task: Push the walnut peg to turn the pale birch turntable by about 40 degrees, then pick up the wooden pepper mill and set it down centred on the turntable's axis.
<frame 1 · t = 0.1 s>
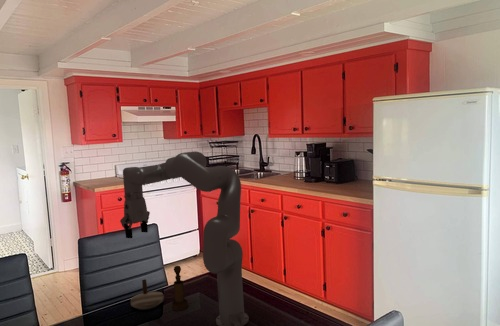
hand: (137, 235, 166), 31 cm above the table, tool pointing down, fingers open, 9 cm apart
turntable base: (147, 304, 168), on the table
turntable: (146, 292, 167), point 5 cm above the table, hinge at 0.0°
wooden pepper mill: (180, 307, 163), on the table
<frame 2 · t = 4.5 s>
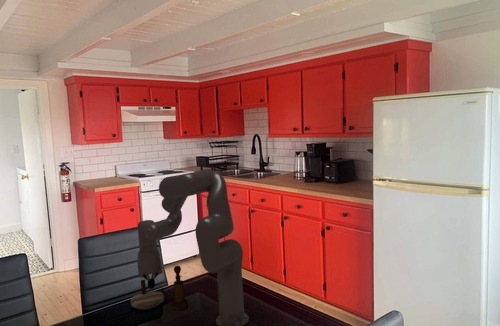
hand: (151, 287, 174), 5 cm above the table, tool pointing down, fingers closed
turntable: (146, 292, 167), point 5 cm above the table, hinge at 5.7°, touching gripper
everything else where it was.
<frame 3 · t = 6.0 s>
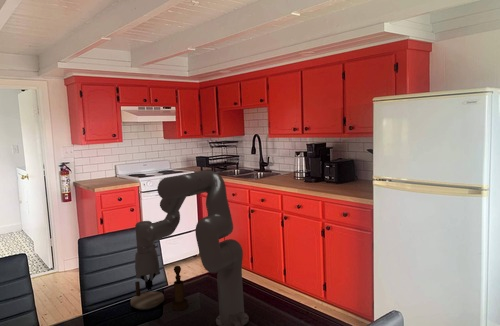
hand: (149, 288, 173), 5 cm above the table, tool pointing down, fingers closed
turntable: (146, 292, 167), point 5 cm above the table, hinge at 31.9°
everything else where it was.
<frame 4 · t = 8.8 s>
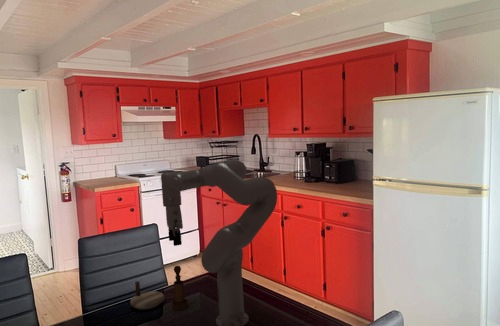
hand: (175, 242, 161), 28 cm above the table, tool pointing down, fingers open, 8 cm apart
nothing on the table moved.
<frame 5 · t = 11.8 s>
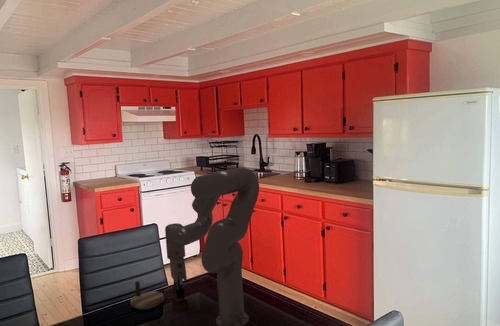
hand: (179, 295, 163), 5 cm above the table, tool pointing down, fingers closed on wooden pepper mill, 3 cm apart
wooden pepper mill: (180, 307, 163), on the table, touching gripper
everything else where it was.
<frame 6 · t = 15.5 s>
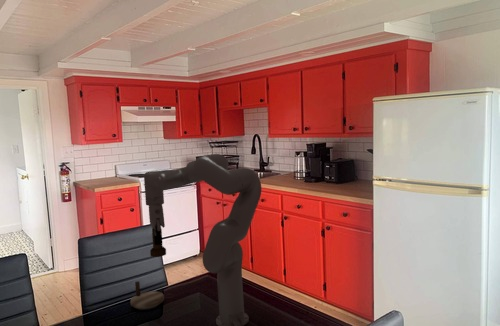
hand: (157, 242, 164), 28 cm above the table, tool pointing down, fingers closed on wooden pepper mill, 3 cm apart
wooden pepper mill: (158, 255, 164), point 22 cm above the table, touching gripper
everything else where it was.
when the fingers open (10 cm above the table, at t = 19.6 s): wooden pepper mill drops 1 cm, resting on turntable.
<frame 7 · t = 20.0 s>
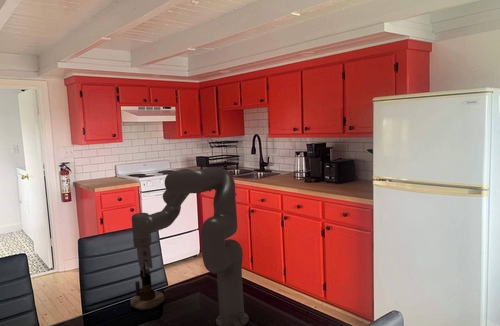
hand: (145, 281, 167), 11 cm above the table, tool pointing down, fingers open, 7 cm apart
turntable: (146, 292, 167), point 5 cm above the table, hinge at 31.9°, touching wooden pepper mill
wooden pepper mill: (147, 298, 168), point 3 cm above the table, touching turntable
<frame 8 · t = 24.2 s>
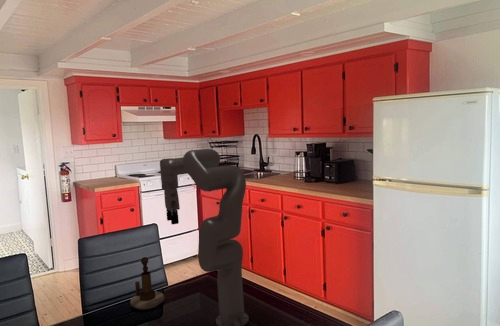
hand: (172, 222, 178), 33 cm above the table, tool pointing down, fingers open, 9 cm apart
nothing on the table moved.
at the end: turntable at +32° (first picture: +0°); wooden pepper mill 0.2 cm off-centre on the turntable, point 3.0 cm above the turntable's base; wooden pepper mill tilted 0° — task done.
